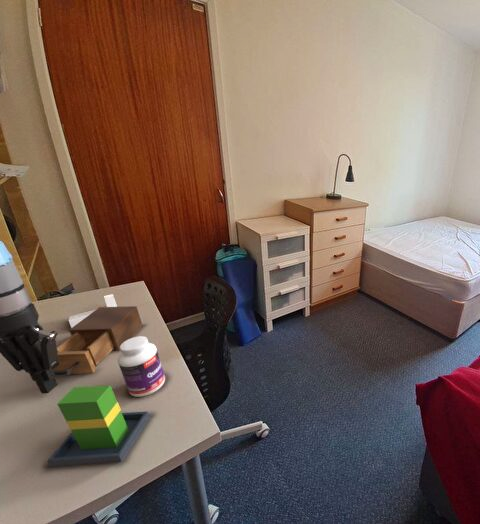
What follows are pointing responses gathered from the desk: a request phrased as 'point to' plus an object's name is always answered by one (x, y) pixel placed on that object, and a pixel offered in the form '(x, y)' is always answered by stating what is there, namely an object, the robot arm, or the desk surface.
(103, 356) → the drawer
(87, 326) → the cabinet
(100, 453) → the tray
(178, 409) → the desk surface
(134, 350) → the pill bottle
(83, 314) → the bracket
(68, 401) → the yellow-banded green block
